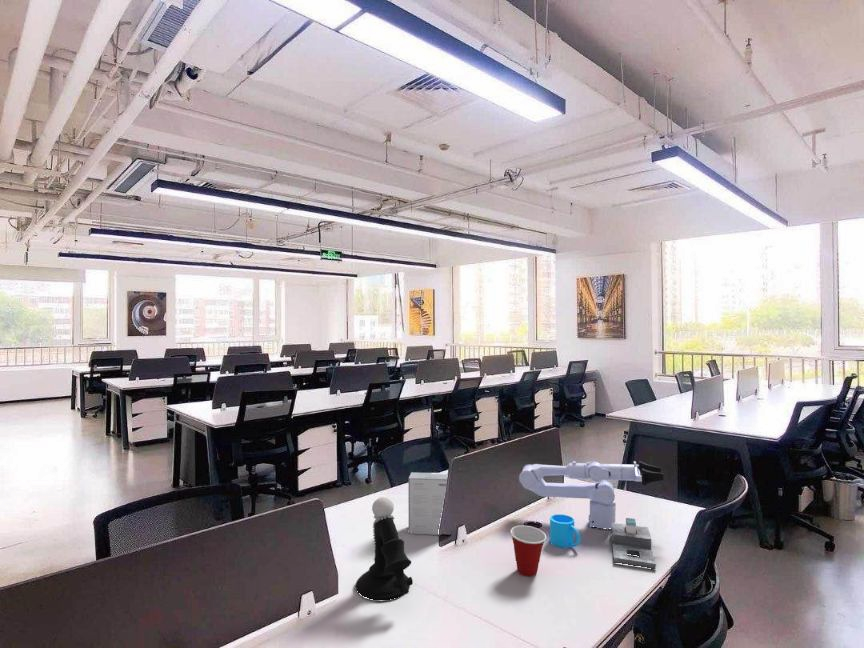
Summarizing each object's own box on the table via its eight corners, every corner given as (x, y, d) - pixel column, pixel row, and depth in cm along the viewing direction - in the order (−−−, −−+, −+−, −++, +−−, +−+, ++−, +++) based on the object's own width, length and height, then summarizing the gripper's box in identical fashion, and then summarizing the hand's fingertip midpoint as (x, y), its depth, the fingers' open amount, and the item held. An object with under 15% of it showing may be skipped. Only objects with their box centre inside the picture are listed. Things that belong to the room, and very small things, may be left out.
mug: (544, 540, 172) (544, 517, 172) (561, 535, 176) (561, 512, 176) (570, 554, 162) (571, 529, 161) (588, 549, 166) (588, 524, 166)
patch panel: (613, 563, 156) (614, 549, 156) (611, 535, 176) (611, 522, 176) (655, 570, 152) (655, 555, 152) (647, 540, 173) (648, 527, 173)
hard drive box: (452, 527, 182) (453, 473, 181) (451, 536, 174) (452, 479, 174) (410, 525, 183) (411, 471, 183) (407, 534, 176) (408, 477, 175)
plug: (626, 539, 168) (626, 522, 168) (625, 534, 172) (625, 517, 172) (635, 541, 167) (636, 523, 167) (634, 536, 171) (635, 518, 171)
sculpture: (397, 568, 151) (398, 486, 151) (432, 609, 130) (433, 514, 130) (349, 579, 144) (349, 494, 144) (378, 624, 123) (379, 524, 123)
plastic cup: (534, 585, 142) (535, 543, 142) (502, 572, 149) (503, 532, 149) (552, 571, 151) (553, 531, 150) (521, 559, 158) (521, 522, 158)
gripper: (621, 466, 176) (663, 468, 172) (620, 456, 190) (658, 457, 185) (623, 486, 176) (665, 488, 172) (621, 474, 190) (660, 476, 185)
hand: (662, 473), depth 178 cm, fingers open, 7 cm apart
